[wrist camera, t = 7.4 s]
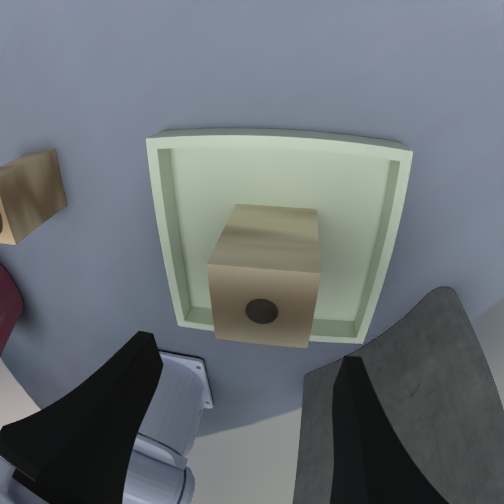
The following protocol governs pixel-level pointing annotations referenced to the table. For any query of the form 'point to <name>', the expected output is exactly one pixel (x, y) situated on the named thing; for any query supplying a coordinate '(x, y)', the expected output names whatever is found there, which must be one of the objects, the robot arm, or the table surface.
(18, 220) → the oak block
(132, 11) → the table surface
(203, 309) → the tray
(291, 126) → the table surface
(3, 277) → the plant pot
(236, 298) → the birch block
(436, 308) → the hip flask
